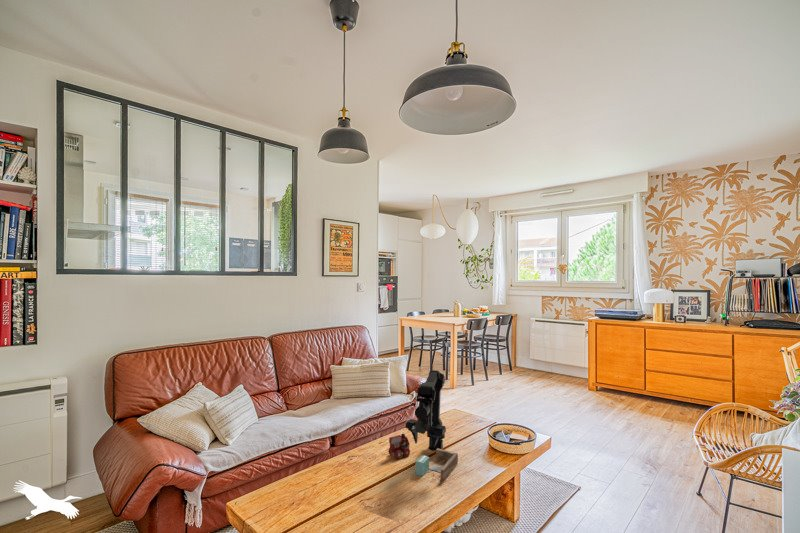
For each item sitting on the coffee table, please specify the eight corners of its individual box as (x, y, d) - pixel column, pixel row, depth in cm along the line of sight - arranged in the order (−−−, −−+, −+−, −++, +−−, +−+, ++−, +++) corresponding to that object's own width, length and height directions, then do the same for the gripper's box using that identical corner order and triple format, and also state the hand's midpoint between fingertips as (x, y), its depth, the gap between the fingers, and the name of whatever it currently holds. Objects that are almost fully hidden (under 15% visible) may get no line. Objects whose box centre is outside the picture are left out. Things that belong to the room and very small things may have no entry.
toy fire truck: (412, 454, 198) (413, 434, 198) (393, 461, 191) (394, 440, 191) (404, 449, 204) (405, 430, 204) (385, 455, 196) (386, 435, 196)
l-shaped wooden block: (421, 475, 178) (421, 464, 178) (437, 458, 195) (437, 448, 195) (443, 481, 173) (443, 470, 173) (457, 463, 190) (457, 453, 190)
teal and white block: (423, 476, 177) (423, 462, 177) (415, 474, 179) (415, 460, 179) (429, 469, 183) (429, 456, 184) (421, 467, 185) (421, 454, 185)
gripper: (400, 413, 179) (399, 447, 178) (438, 421, 171) (437, 456, 170) (410, 406, 189) (409, 438, 188) (446, 413, 181) (445, 447, 180)
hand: (425, 445), depth 182 cm, fingers open, 9 cm apart
